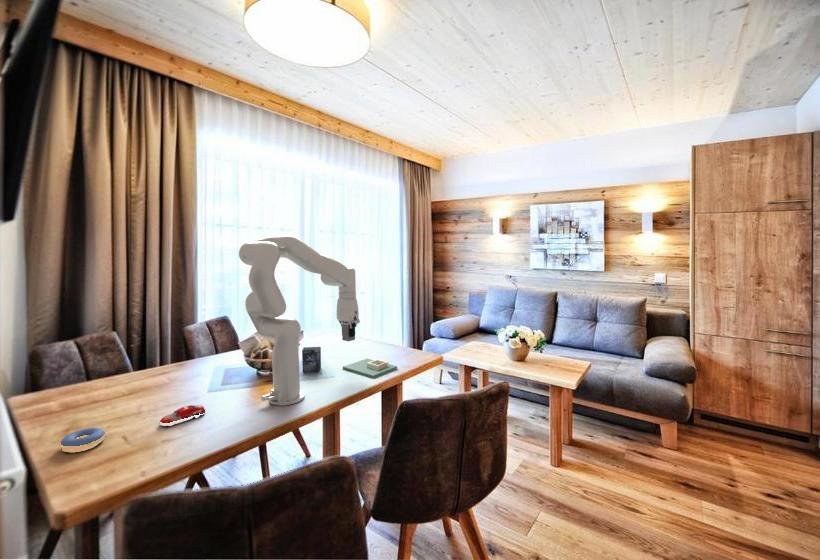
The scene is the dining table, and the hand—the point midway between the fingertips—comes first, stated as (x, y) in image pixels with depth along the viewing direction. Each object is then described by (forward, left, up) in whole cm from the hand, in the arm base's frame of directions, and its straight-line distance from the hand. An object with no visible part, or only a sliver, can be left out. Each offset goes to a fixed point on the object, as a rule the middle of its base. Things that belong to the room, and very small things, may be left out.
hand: (348, 335), depth 167 cm
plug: (0, 0, -2) cm, 2 cm away
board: (+10, -3, -18) cm, 20 cm away
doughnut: (-90, +14, -18) cm, 93 cm away
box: (-8, +17, -18) cm, 26 cm away
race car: (-65, +10, -18) cm, 68 cm away
